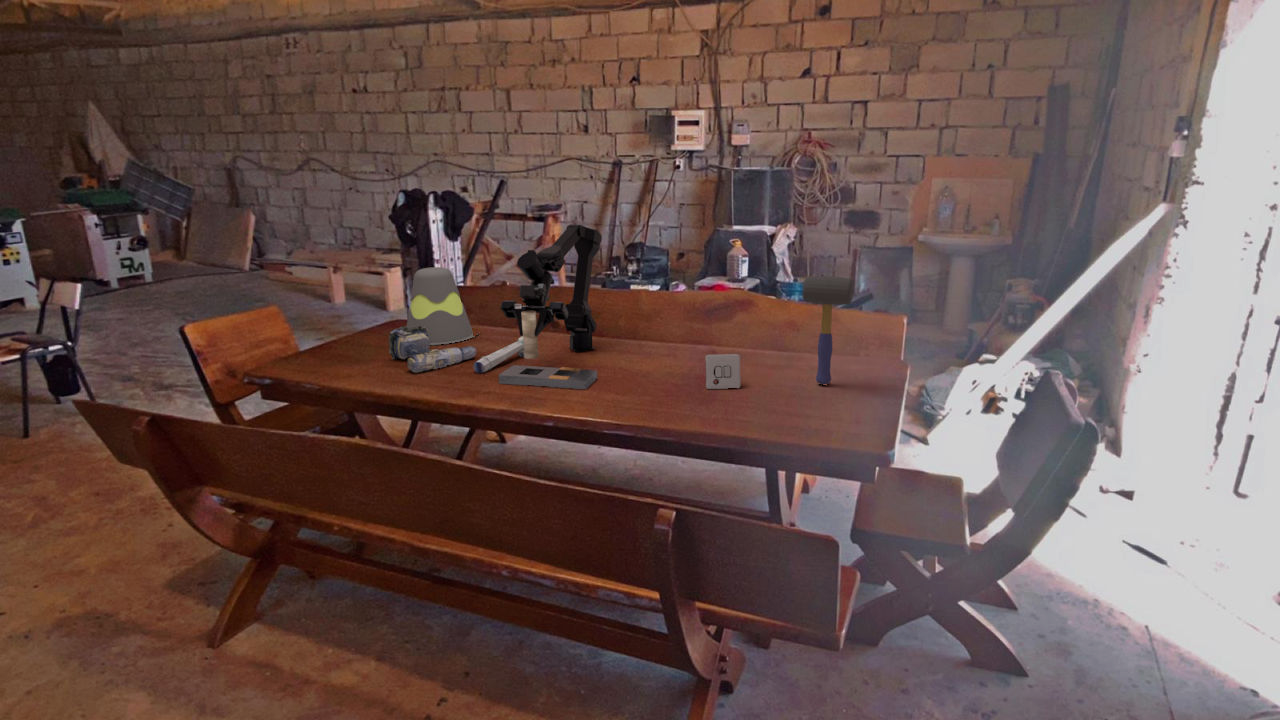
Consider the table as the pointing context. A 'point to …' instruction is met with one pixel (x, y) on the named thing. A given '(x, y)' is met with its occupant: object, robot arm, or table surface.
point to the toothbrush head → (499, 356)
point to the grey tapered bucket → (438, 307)
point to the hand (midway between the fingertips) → (528, 335)
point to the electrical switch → (722, 371)
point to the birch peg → (529, 334)
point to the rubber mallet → (826, 313)
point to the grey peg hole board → (548, 376)
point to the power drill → (424, 350)
